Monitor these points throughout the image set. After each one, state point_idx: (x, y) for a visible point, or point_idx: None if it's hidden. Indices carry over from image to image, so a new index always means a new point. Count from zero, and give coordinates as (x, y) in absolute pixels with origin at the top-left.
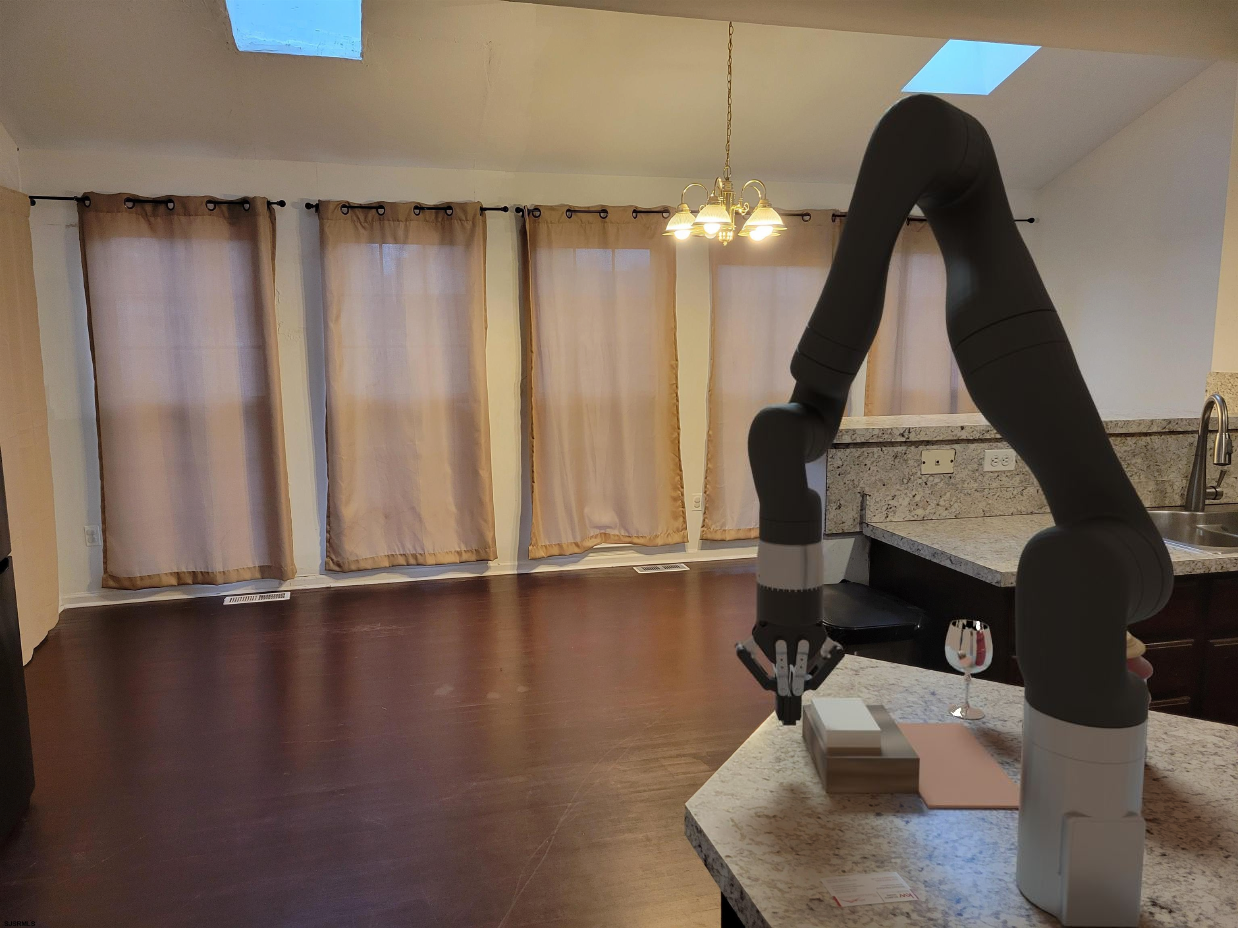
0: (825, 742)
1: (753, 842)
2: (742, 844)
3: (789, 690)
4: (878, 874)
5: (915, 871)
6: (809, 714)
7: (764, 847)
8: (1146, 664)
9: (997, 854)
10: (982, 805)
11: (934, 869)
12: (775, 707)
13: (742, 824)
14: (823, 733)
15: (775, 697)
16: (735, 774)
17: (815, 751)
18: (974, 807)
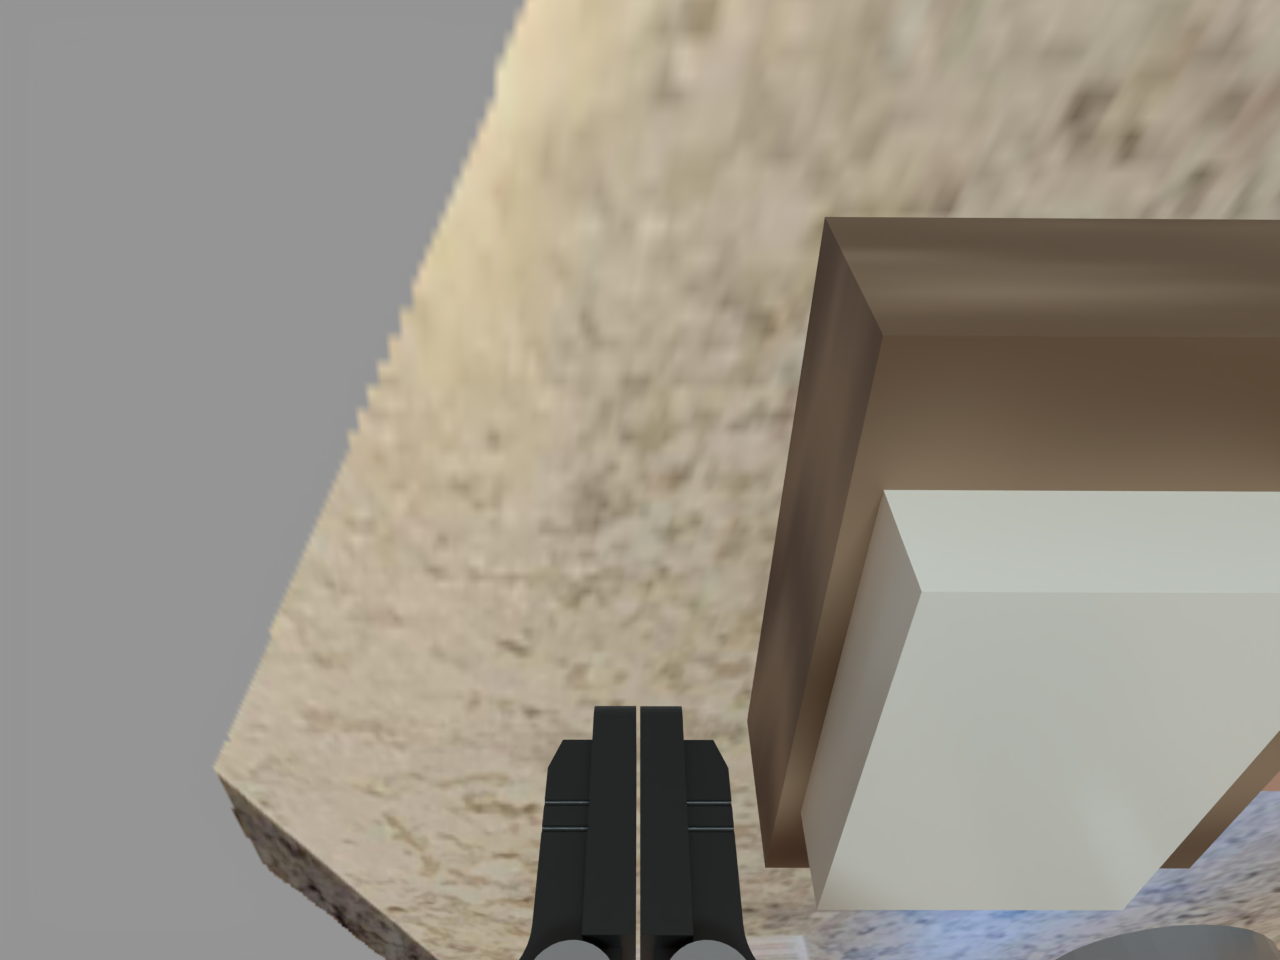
0: (806, 814)
1: (461, 880)
2: (430, 884)
3: (653, 955)
4: (756, 940)
5: (849, 935)
6: (865, 503)
7: (491, 891)
8: None
9: None
10: (1266, 789)
11: (898, 931)
12: (545, 806)
13: (426, 834)
14: (818, 813)
15: (537, 886)
16: (372, 620)
17: (782, 629)
18: None
